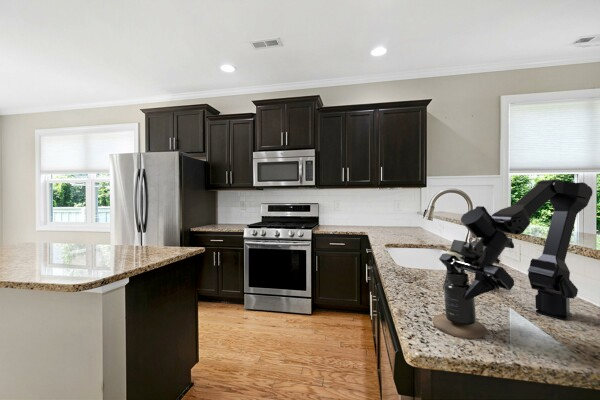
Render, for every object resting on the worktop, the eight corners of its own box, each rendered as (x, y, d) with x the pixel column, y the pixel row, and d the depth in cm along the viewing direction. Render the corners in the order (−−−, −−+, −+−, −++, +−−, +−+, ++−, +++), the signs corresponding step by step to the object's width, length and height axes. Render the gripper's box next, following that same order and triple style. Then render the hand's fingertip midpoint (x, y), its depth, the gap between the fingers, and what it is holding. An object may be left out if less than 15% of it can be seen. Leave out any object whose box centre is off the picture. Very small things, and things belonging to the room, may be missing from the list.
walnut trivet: (495, 330, 69) (495, 326, 69) (471, 344, 62) (471, 339, 62) (447, 314, 79) (447, 310, 79) (423, 324, 72) (423, 320, 72)
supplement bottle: (457, 313, 75) (455, 270, 75) (482, 322, 68) (479, 274, 69) (439, 318, 72) (437, 272, 73) (463, 327, 66) (461, 277, 66)
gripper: (443, 226, 81) (412, 265, 78) (503, 233, 63) (464, 285, 60) (466, 250, 83) (436, 290, 80) (530, 264, 64) (494, 316, 62)
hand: (454, 294), depth 70 cm, fingers closed on supplement bottle, 7 cm apart
